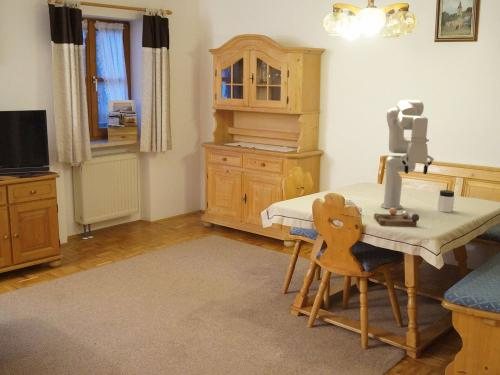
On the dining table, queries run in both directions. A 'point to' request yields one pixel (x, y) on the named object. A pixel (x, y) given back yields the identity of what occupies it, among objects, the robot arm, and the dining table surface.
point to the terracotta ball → (393, 211)
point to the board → (394, 220)
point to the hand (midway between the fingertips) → (415, 173)
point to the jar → (446, 201)
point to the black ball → (415, 217)
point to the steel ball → (405, 214)
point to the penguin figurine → (352, 203)
